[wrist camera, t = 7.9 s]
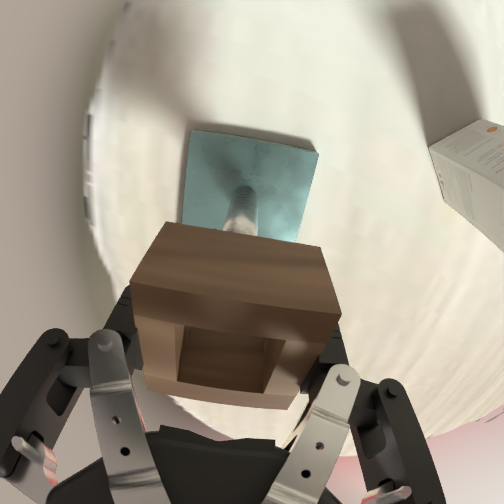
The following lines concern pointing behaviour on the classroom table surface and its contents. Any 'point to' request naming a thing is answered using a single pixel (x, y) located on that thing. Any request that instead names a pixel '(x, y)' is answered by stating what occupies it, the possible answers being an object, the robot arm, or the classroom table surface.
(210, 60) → the classroom table surface
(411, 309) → the classroom table surface
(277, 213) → the post
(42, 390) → the robot arm
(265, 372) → the hollow block
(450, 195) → the small box
